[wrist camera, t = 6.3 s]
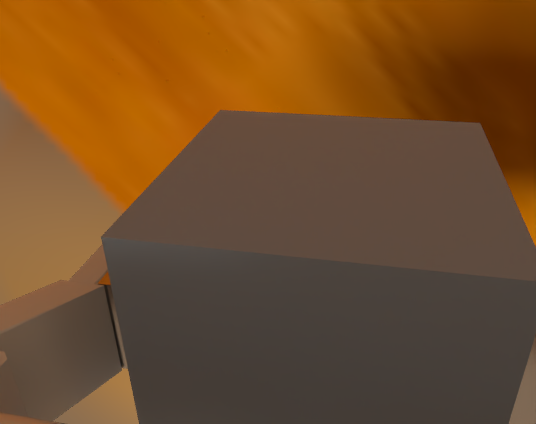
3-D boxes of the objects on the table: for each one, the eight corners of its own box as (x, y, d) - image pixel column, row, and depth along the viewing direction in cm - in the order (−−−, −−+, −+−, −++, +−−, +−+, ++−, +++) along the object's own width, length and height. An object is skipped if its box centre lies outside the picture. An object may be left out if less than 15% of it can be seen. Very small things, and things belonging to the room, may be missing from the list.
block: (220, 110, 10) (101, 236, 6) (479, 122, 10) (550, 282, 5) (232, 304, 13) (153, 492, 9) (441, 330, 12) (468, 555, 8)
